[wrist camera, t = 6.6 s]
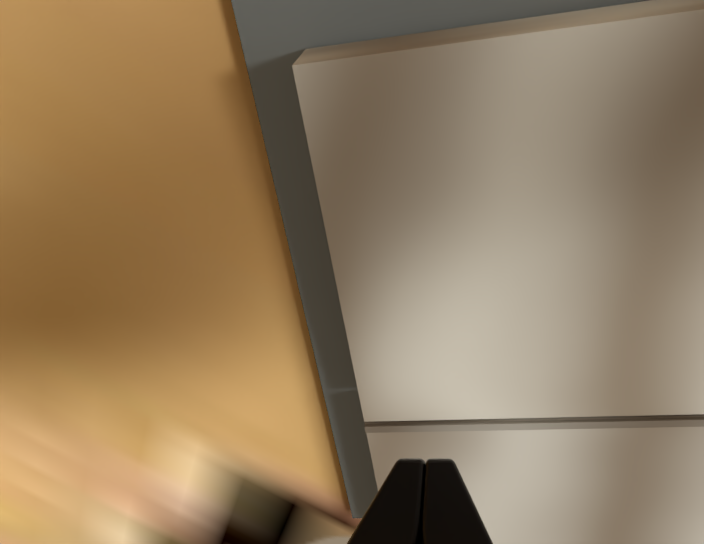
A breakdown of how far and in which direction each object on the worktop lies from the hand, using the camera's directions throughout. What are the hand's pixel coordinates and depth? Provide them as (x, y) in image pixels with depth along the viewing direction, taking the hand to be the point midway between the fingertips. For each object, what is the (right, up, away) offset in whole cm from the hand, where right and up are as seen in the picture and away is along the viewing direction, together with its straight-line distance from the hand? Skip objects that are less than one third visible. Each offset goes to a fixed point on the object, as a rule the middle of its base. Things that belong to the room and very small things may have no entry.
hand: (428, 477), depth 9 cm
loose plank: (+6, +4, +6) cm, 10 cm away
